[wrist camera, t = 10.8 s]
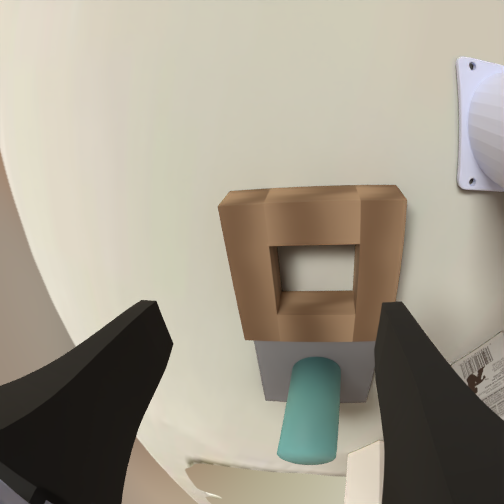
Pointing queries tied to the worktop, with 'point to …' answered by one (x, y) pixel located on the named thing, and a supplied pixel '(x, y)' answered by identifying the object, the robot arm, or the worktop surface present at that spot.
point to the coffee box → (485, 373)
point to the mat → (343, 353)
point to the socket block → (313, 233)
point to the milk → (365, 475)
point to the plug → (311, 413)
